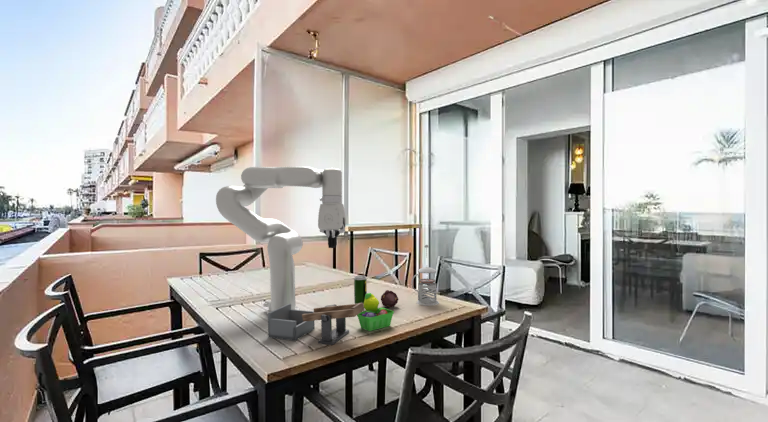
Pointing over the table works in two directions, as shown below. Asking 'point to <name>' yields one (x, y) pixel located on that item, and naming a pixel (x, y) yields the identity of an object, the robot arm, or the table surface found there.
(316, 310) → the lever
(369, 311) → the fruit basket
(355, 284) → the beer can
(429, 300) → the french press
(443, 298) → the table surface
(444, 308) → the table surface
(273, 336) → the bin
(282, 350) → the table surface
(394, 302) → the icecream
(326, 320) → the lever stand
